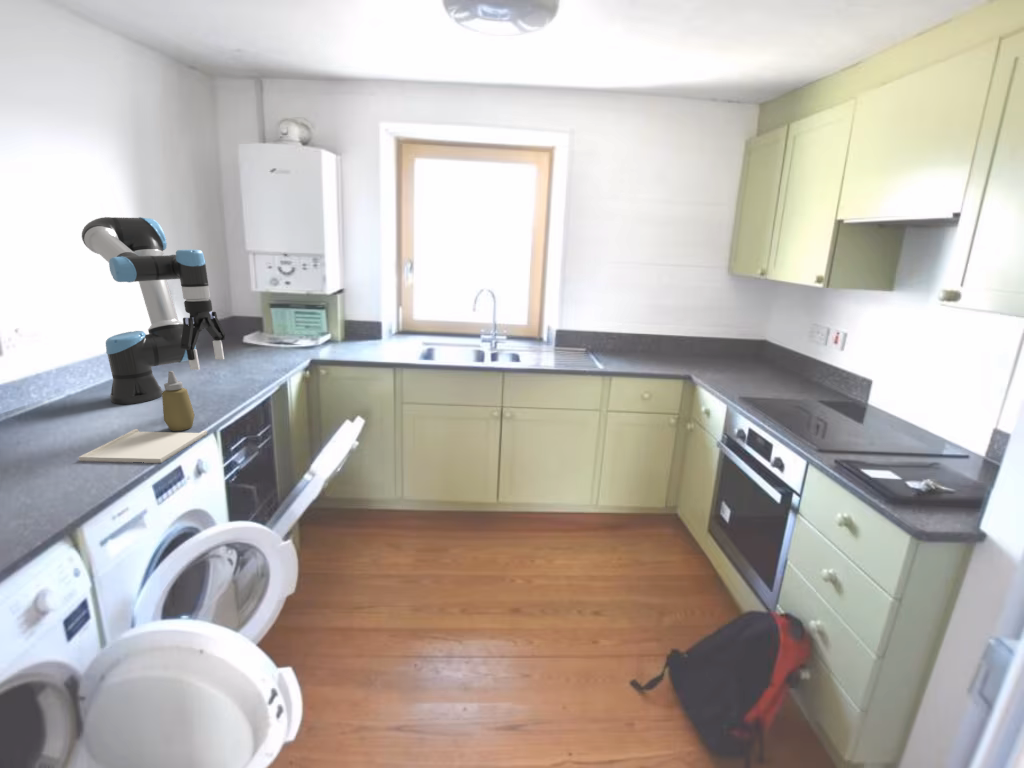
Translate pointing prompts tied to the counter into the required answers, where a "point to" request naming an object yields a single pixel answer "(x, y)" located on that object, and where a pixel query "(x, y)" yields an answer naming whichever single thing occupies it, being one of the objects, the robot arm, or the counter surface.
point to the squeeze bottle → (177, 405)
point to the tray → (143, 447)
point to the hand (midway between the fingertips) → (208, 364)
